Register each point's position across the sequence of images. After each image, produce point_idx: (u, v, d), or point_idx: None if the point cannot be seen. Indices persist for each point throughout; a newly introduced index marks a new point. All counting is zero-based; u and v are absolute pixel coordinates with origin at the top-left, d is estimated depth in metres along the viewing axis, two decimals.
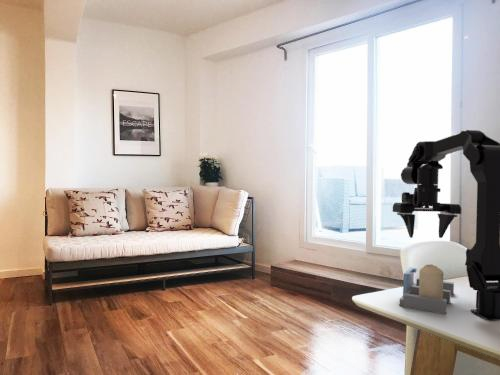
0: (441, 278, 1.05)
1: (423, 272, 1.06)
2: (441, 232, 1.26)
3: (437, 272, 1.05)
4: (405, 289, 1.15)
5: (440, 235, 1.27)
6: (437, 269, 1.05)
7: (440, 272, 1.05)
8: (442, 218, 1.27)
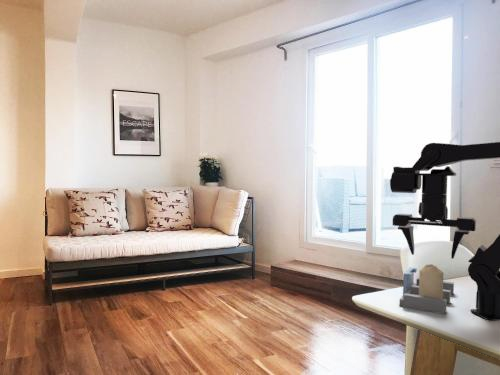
0: (441, 278, 1.05)
1: (423, 272, 1.06)
2: None
3: (437, 272, 1.05)
4: (405, 289, 1.15)
5: None
6: (437, 269, 1.05)
7: (440, 272, 1.05)
8: None
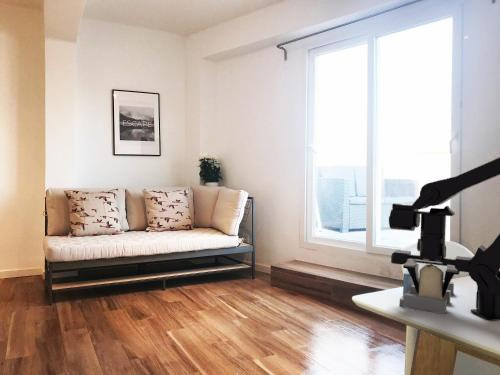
0: (441, 278, 1.05)
1: (423, 272, 1.06)
2: None
3: (437, 272, 1.05)
4: (405, 289, 1.15)
5: None
6: (437, 269, 1.05)
7: (440, 272, 1.05)
8: None
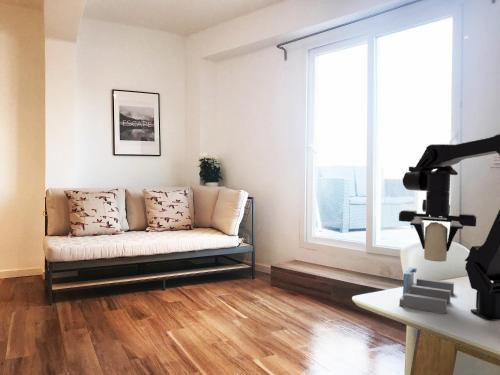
0: (446, 234, 1.13)
1: (429, 229, 1.14)
2: (447, 245, 1.13)
3: (442, 228, 1.12)
4: (405, 289, 1.15)
5: None
6: (442, 225, 1.13)
7: (445, 228, 1.13)
8: None
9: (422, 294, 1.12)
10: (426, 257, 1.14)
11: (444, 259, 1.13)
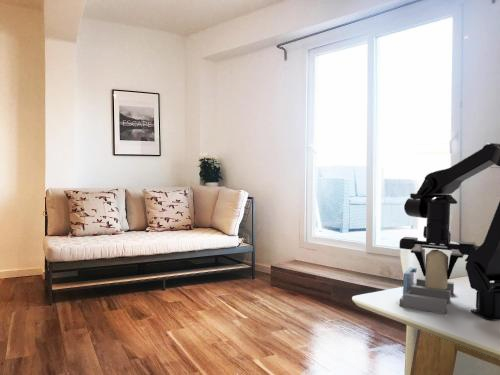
0: (446, 262, 1.13)
1: (429, 256, 1.14)
2: (447, 273, 1.14)
3: (443, 256, 1.13)
4: (405, 289, 1.15)
5: None
6: (442, 253, 1.14)
7: (445, 256, 1.14)
8: None
9: (422, 294, 1.12)
10: (427, 285, 1.15)
11: (445, 287, 1.14)
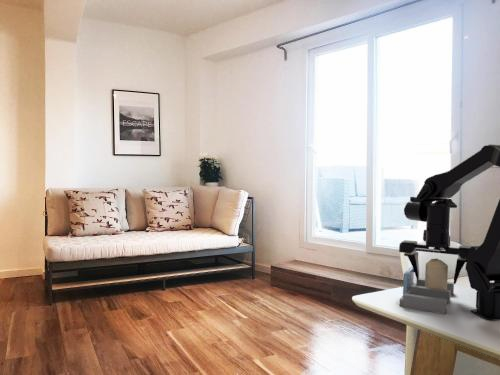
0: (446, 271, 1.14)
1: (429, 266, 1.15)
2: (454, 278, 1.13)
3: (442, 266, 1.13)
4: (405, 289, 1.15)
5: (454, 281, 1.14)
6: (442, 263, 1.14)
7: (445, 265, 1.14)
8: None
9: (422, 294, 1.12)
10: None
11: None
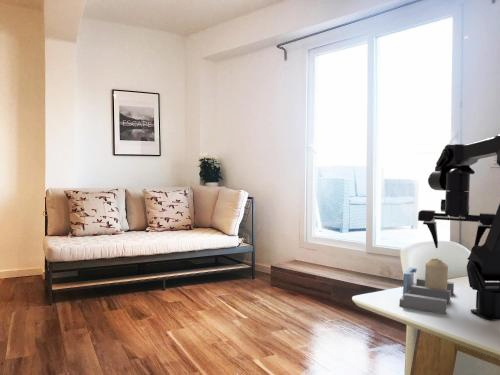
0: (446, 271, 1.14)
1: (429, 266, 1.15)
2: (474, 245, 1.12)
3: (442, 266, 1.13)
4: (405, 289, 1.15)
5: None
6: (442, 263, 1.14)
7: (445, 265, 1.14)
8: (477, 229, 1.12)
9: (422, 294, 1.12)
10: None
11: None
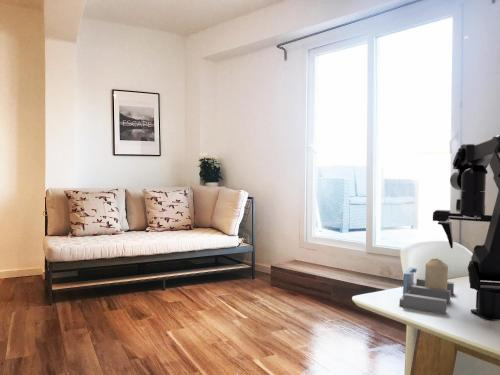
0: (446, 271, 1.14)
1: (429, 266, 1.15)
2: None
3: (442, 266, 1.13)
4: (405, 289, 1.15)
5: None
6: (442, 263, 1.14)
7: (445, 265, 1.14)
8: None
9: (422, 294, 1.12)
10: None
11: None
